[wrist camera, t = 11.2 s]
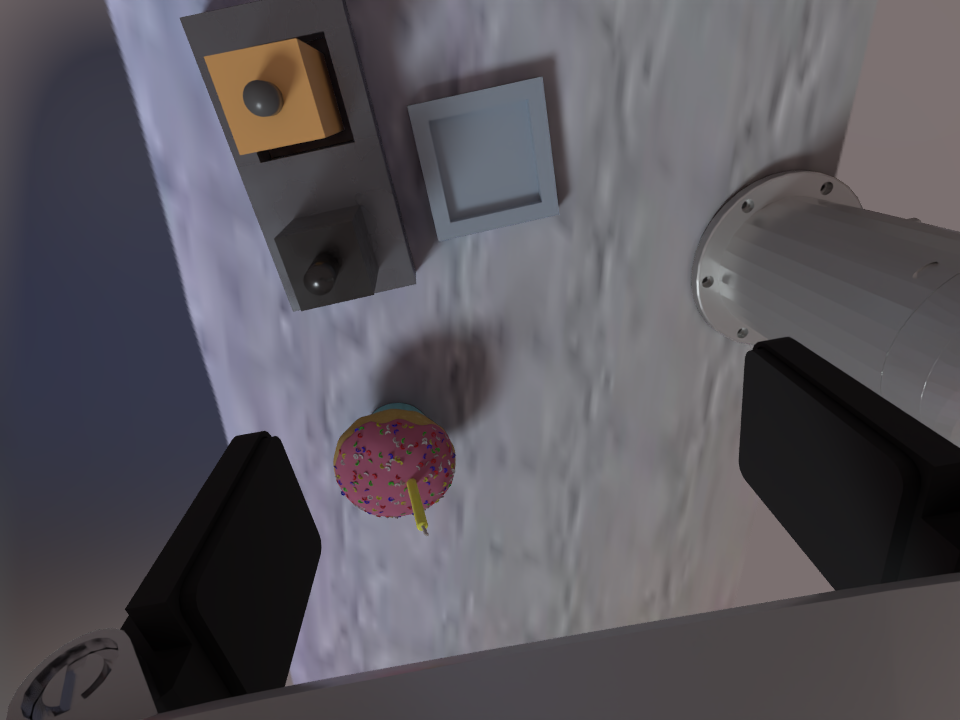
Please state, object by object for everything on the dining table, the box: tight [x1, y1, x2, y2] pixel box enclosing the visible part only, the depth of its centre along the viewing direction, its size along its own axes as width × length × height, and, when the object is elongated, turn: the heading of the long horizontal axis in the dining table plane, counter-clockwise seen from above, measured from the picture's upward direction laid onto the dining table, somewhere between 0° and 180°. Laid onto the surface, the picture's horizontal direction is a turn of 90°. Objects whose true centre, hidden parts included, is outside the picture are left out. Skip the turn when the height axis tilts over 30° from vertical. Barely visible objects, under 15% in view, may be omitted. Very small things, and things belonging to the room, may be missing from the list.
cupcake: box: [333, 403, 455, 536], centre depth 36 cm, size 9×8×12 cm
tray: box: [407, 77, 559, 241], centre depth 33 cm, size 8×8×1 cm
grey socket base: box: [180, 0, 416, 312], centre depth 28 cm, size 16×8×10 cm, turn 11°
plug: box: [204, 38, 345, 155], centre depth 26 cm, size 4×4×9 cm
